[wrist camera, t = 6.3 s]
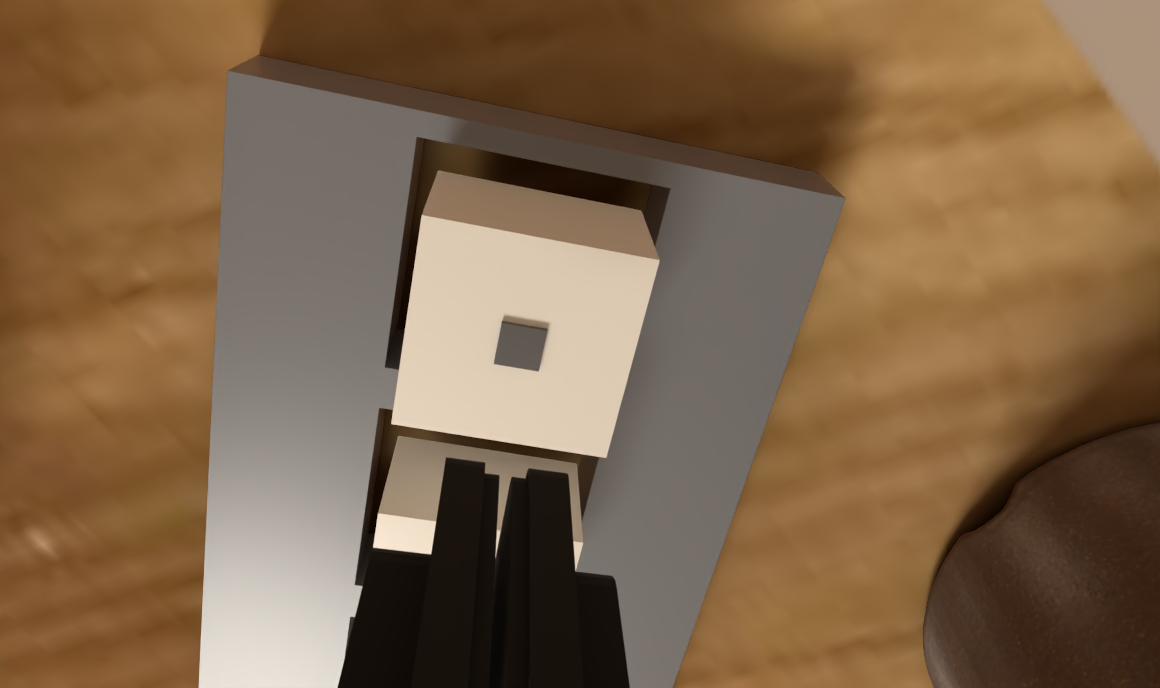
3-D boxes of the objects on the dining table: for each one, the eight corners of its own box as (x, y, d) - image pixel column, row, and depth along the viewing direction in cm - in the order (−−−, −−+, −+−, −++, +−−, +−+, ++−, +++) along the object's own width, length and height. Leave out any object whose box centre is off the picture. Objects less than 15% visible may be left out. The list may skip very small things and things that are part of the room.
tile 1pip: (641, 210, 17) (660, 262, 15) (596, 386, 19) (606, 460, 16) (438, 170, 17) (420, 216, 14) (410, 354, 19) (390, 426, 16)
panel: (816, 171, 20) (845, 197, 18) (625, 742, 27) (632, 801, 25) (258, 55, 18) (227, 70, 16) (219, 696, 25) (195, 756, 24)
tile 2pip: (576, 463, 20) (583, 545, 17) (542, 599, 22) (543, 693, 19) (397, 436, 19) (376, 516, 17) (376, 577, 21) (354, 671, 18)
